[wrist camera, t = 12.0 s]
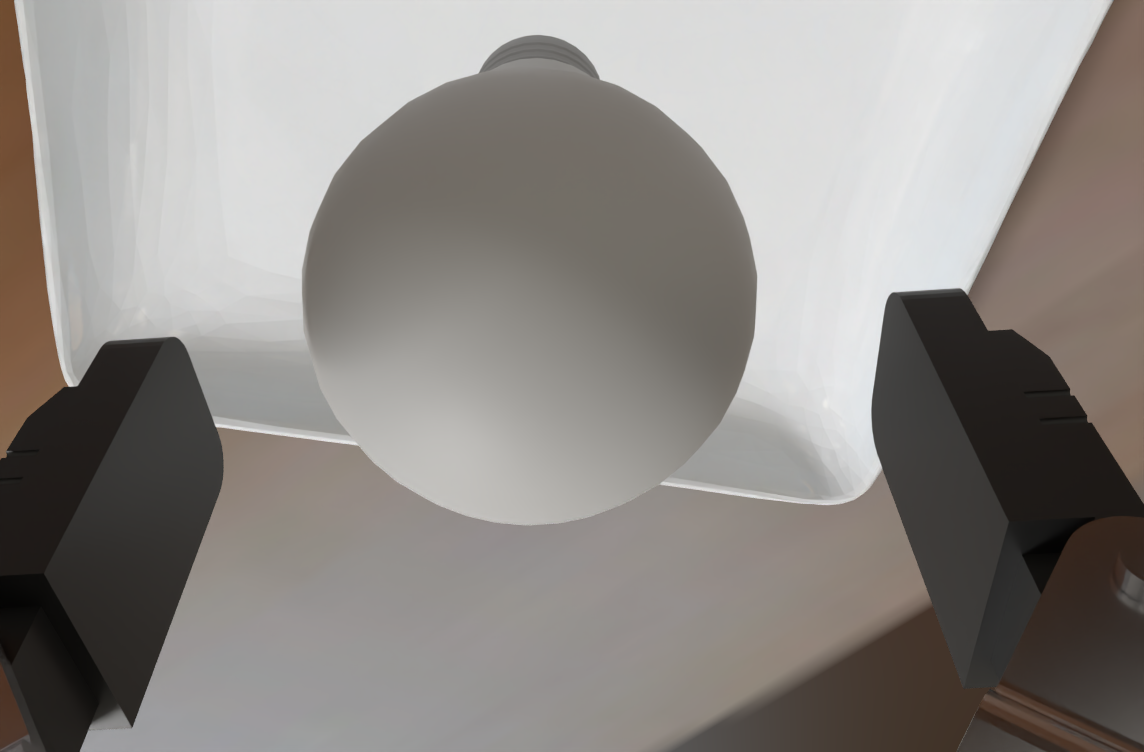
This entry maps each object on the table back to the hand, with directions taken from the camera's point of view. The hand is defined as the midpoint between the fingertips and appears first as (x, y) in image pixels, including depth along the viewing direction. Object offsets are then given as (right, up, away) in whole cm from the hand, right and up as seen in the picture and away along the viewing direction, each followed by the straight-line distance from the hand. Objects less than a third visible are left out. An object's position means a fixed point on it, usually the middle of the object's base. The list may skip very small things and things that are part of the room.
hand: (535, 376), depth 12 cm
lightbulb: (0, +6, +9) cm, 11 cm away
